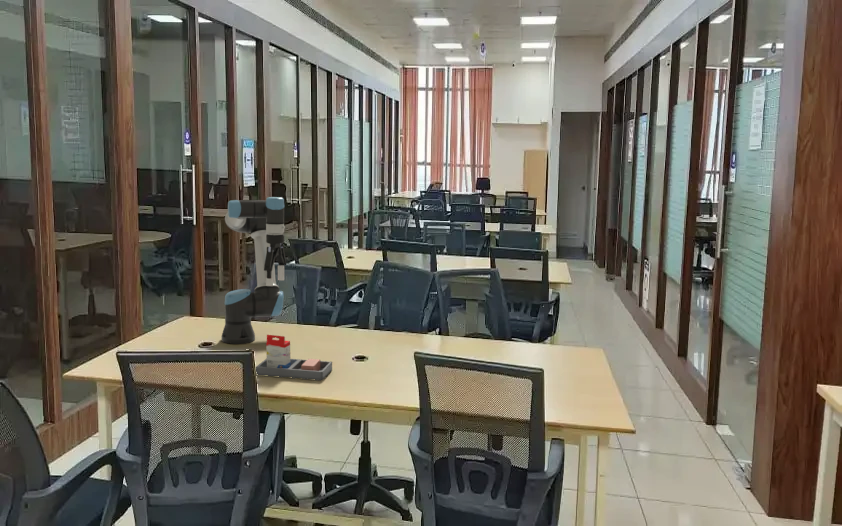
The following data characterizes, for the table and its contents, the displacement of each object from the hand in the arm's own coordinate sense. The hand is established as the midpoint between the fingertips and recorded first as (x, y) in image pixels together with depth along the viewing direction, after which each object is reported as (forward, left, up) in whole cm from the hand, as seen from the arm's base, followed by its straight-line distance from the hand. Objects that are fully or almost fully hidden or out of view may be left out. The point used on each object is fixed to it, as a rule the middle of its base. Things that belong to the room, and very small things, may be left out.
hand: (275, 283), depth 293 cm
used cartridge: (+23, -22, -32) cm, 45 cm away
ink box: (+9, -22, -31) cm, 39 cm away
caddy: (+16, -22, -32) cm, 42 cm away
